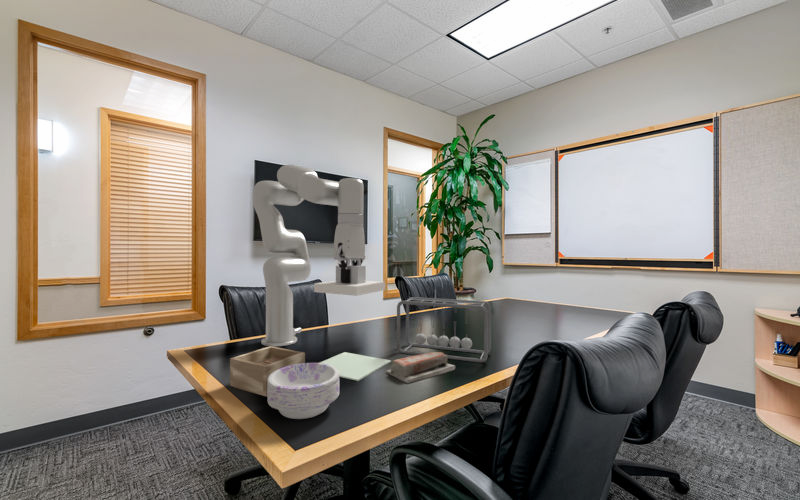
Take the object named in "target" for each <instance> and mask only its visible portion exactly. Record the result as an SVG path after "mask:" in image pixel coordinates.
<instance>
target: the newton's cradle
mask: <svg viewBox="0 0 800 500" xmlns="http://www.w3.org/2000/svg"><path fill="white" fill-rule="evenodd" d="M402 305H405V342H406V344H407V345H408V347H407V348H405V349H402V348H401V306H402ZM410 305H411V306H412V305H413V306H422V309H424V306H427V307H428V306H429V307H433V309H436V307H441V317H442V320H443V328H445V327H446V326H445V324H446V317H444V312H443V311H444V310H443V308H455V312H457V310H458V309H465V311H464V312H465V318H466V323H468V321H469V319H468V317H469V309H470V310H471V309H472V310H473V309H474V310H475V309H476V310H482V311H483V313H484V315H483V318H484V319H483V323H484V324H483V328H484V329H483V350H481V349H480V350H479V349H471V348H472V347H473V342H472V339H471V338H468V335H465V337H464V338H462V339H460V338H459V337H458V336H456V329H457V328H456V327H457V322H453V330H454V331H453V332H454V333H453V335H454V336H452V337H450V339H449V337H448V336H447V335H445V332H442V335H441V336H439V337H438V336H437V334H436V335H435V334H434V333H431V334H429V335H428V336H426V335H425V334H424V333H423V331H422V330H423V325H422V322H419V333H417V334H415V335H416V336H415V338H414V341H415V342H411V341H410ZM484 305H485V306H486V307H487V308H486V307H485V306H484ZM432 314H433V313H432V311H430V316H431V318H430V319H431V324H432V327H434V322H435V316H433V315H432ZM423 316H424V313H422V314H421V321H423V318H424V317H423ZM426 343H427V344H426ZM437 344H438V345H437ZM448 345H449V346H448ZM460 346H461V347H460ZM411 347H416V348H424V349H425V348H426V349H434V350H442V351H443V350H444V351H451V352H452V351H453V352H462V353H470V354H477V355H480V354H481V356H480V358H476V357H466V356H457V355H448V354H445V355H446V356H447V360H456V361H463V362H471V363H472V362H473V363H484V362H486V361H487V359H488V356H489V353H490V352H491V349H492V306H491V304H490V303H489V301H485V300H470V299H453V298H439V297H438V298H435V297H420V296H419V297H416V296H411V297H408V298H407V300H400V301H399V302H398V303H397V306H396V349H397V352H399V353H401V354H403V353H404V354H403V355H411V354H412V355H411V356H416V355H421V354H425V353H426V352H424V351H423V352H421V351H414V350H408V349H410V348H411Z"/></svg>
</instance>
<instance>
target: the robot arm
mask: <svg viewBox="0 0 800 500" xmlns="http://www.w3.org/2000/svg"><path fill="white" fill-rule="evenodd" d="M276 178H277V179H276V180H277V181H276V180H275V181H274V180H260V181H258V182H257V183H255V184H254V186H253V189H252V203H253V207H254V210H255V213H256V214H257V218H258V221H259V227H260V232H261V239H262V245H263V248H264V251H265V252H266V253H267V254H269V255H289V256H273V257H269V258H268V259H267V260H266V261H265V262H264V263H263V266H262V273H263V278H264V284H265V337H264V338H262V339H261V342H260V343H261V345H262V346H265V347H269V346H273V347H285V346H290V345H293V344H296V343H297V342H298V337H297V336H296V335H297V334H299V333H301V332H303V331H302V328H301V327H296V328H295V327H294V294H293V293H294V292H293V290H292V288H291V287H290V285H289V284H288V283H292V282H301V281H305V280H307V279H308V278H309V277H310V276H311V275H310V274H311V261H310V257H309V256H310V255H309V250H308V246H307V244H308V243H307V241H306V238H305V236H304V234H303V233H302V232H301V231H299V230H298V229H287V228H286V226H285V223H284V219H283V216H282V214H281V212H280V211H279V210H278V208H277V207H276V206H275V205H279V206H280V205H281V206H287V207H289V206H290V207H294V206H298V205H300V204H301V203H302V202H303V201H305V200H306V201H308V202H310V203H313V204H319V205H328V206H335V207H337V224H336V227H335V231H334V232H335V233H334V239H333V257H334V258H333V260H334V261H335V262H336V263H337V264H338V265H337V266H339V268H340V269H341V283H350V282H351V269H349V266H350V264H351V265H353V266H362V264H363V262H364V260H365V259H366V256H365V254H366V241H365V239H366V238H365V229H364V210H365V209H364V207H365V206H364V201H365V200H364V194H365V193H364V191H365V189H364V182H363V180H361V179H359V178H354V177H353V178H352V177H346V178H342V179H340V180H339V181H335V180H331V179H330V180H329V179H324V178H320V177H319V176H318V173H317V172H316V171H315V170H313V169H312V168H308V167H304V166H299V165H294V164H284V165H282V166H281V167H280V168H278V170H277V173H276Z"/></svg>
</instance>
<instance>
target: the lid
mask: <svg viewBox="0 0 800 500" xmlns="http://www.w3.org/2000/svg"><path fill="white" fill-rule="evenodd" d="M349 269H351V282H350V283H341V269H340V268H339V265H335V280H330V281H323V282H315V283H313V292H314V293H322V294H332V295H334V294H335V295H343V296H344V295H346V296H353V297H354V296H356V297H357V296H362V295H367V294H371V293H376V292H381V291H386V282H385V281H378V280H366V272H367V270H366V269H367V268H366V265H361V266H353V265H350V266H349Z"/></svg>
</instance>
